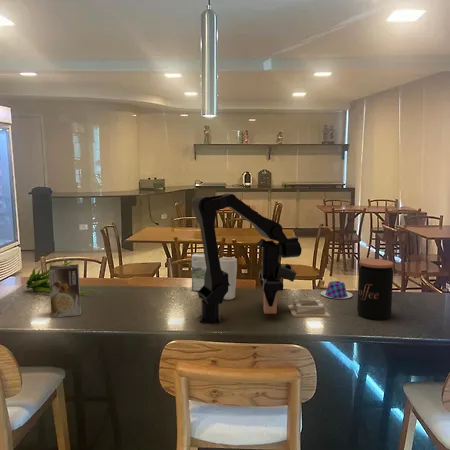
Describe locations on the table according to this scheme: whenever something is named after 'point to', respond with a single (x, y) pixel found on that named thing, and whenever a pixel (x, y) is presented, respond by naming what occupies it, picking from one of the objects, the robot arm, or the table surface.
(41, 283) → the decorative plant
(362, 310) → the coffee jar
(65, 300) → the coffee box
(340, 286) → the pudding
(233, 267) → the white tumbler
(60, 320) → the table surface
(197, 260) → the syrup box
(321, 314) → the post socket
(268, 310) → the bracket block
